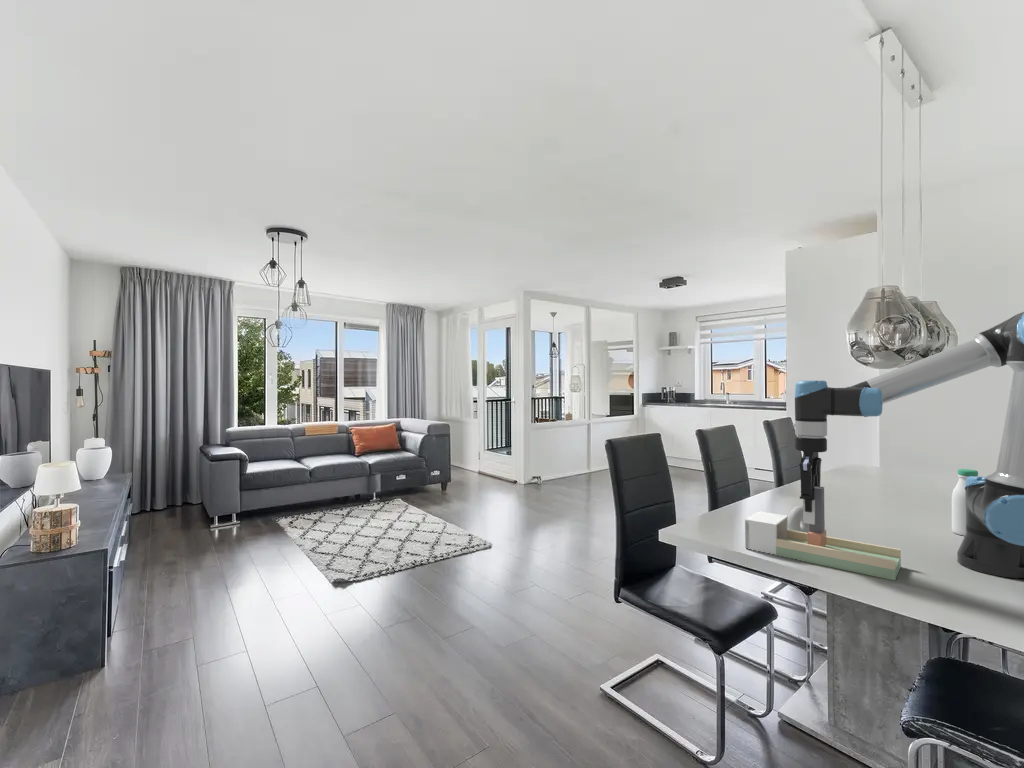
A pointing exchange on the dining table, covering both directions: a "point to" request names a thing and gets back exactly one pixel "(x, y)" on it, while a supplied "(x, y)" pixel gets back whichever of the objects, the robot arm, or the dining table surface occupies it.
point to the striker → (818, 520)
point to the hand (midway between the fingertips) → (810, 521)
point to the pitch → (819, 547)
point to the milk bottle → (960, 502)
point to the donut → (797, 520)
